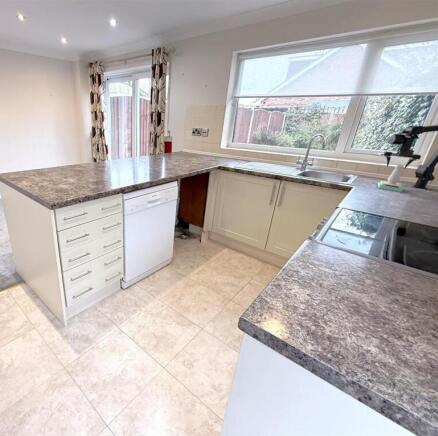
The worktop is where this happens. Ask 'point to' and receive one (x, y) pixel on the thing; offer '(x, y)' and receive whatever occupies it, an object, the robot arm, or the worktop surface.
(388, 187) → the scale
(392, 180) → the salt shaker
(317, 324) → the worktop surface
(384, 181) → the scale platform
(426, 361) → the worktop surface
